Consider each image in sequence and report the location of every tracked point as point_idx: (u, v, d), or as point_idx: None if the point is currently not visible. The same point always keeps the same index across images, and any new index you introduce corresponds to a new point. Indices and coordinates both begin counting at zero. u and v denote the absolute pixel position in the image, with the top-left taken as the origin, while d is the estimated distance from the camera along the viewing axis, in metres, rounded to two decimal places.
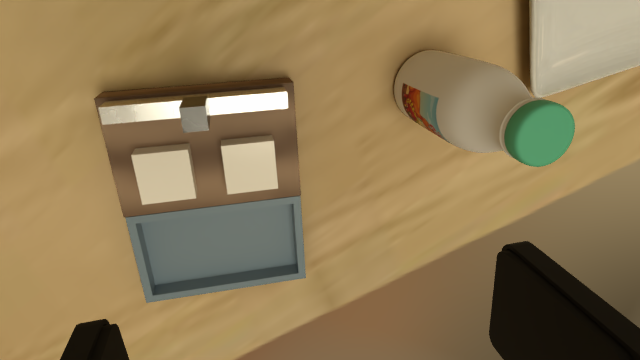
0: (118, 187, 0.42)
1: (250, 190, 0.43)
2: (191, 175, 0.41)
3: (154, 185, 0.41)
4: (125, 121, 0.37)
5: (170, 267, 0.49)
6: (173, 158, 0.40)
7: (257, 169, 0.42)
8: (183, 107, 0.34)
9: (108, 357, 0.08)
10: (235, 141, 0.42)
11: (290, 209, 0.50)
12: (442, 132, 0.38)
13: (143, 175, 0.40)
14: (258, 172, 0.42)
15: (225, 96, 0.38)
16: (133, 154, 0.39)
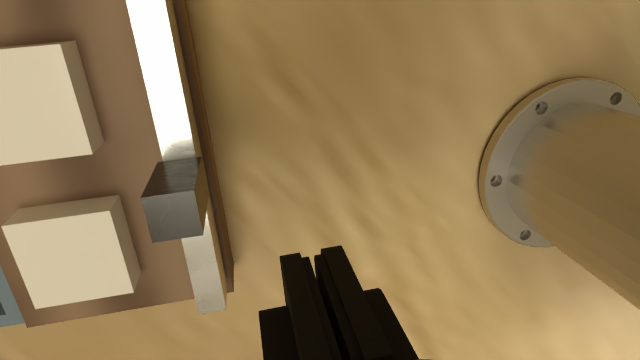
0: None
1: (19, 265, 0.22)
2: (33, 159, 0.20)
3: None
4: (139, 47, 0.18)
5: None
6: (67, 126, 0.20)
7: (71, 273, 0.22)
8: (195, 195, 0.17)
9: None
10: (121, 225, 0.23)
11: None
12: None
13: (13, 65, 0.18)
14: (64, 275, 0.22)
15: (208, 220, 0.22)
16: (62, 47, 0.19)
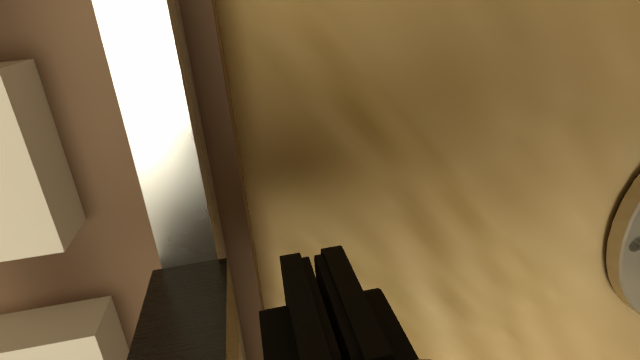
0: None
1: None
2: None
3: None
4: (117, 79, 0.10)
5: None
6: (17, 210, 0.11)
7: None
8: None
9: None
10: (114, 346, 0.15)
11: None
12: None
13: None
14: None
15: None
16: (4, 74, 0.10)
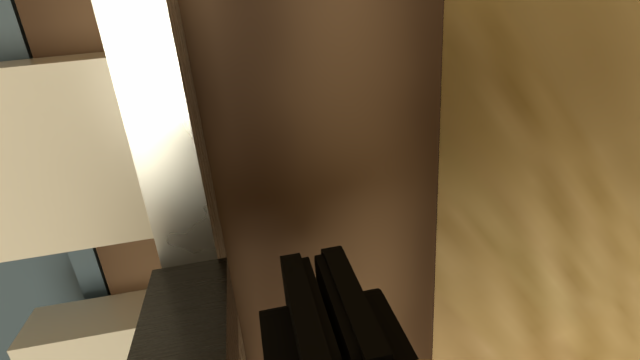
0: None
1: None
2: (62, 249, 0.12)
3: None
4: (117, 78, 0.10)
5: None
6: (120, 195, 0.12)
7: None
8: None
9: None
10: None
11: None
12: None
13: (31, 95, 0.10)
14: None
15: None
16: None
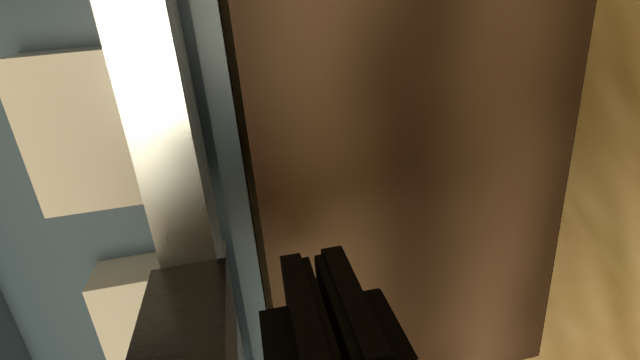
0: None
1: (102, 341, 0.16)
2: (121, 204, 0.14)
3: (71, 103, 0.13)
4: (115, 78, 0.10)
5: None
6: None
7: None
8: None
9: None
10: (230, 281, 0.17)
11: None
12: None
13: (104, 73, 0.13)
14: None
15: None
16: None
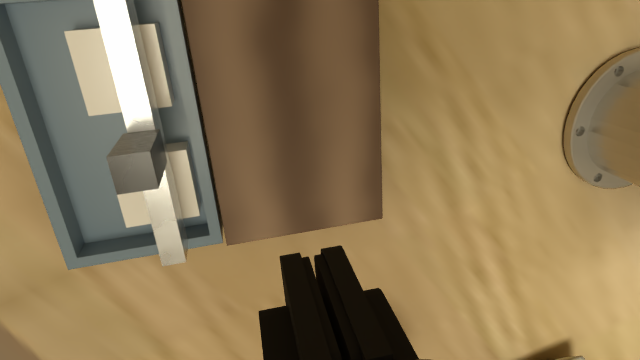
0: None
1: None
2: None
3: (104, 53, 0.26)
4: (105, 38, 0.22)
5: (53, 36, 0.27)
6: (155, 84, 0.27)
7: None
8: (151, 156, 0.21)
9: None
10: (190, 163, 0.30)
11: (187, 224, 0.33)
12: None
13: None
14: None
15: (168, 184, 0.26)
16: (155, 26, 0.26)
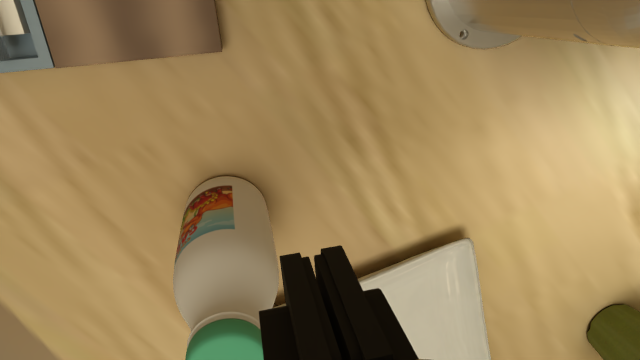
0: None
1: None
2: None
3: None
4: None
5: None
6: None
7: None
8: None
9: None
10: None
11: (24, 54, 0.33)
12: (192, 243, 0.30)
13: None
14: None
15: None
16: None
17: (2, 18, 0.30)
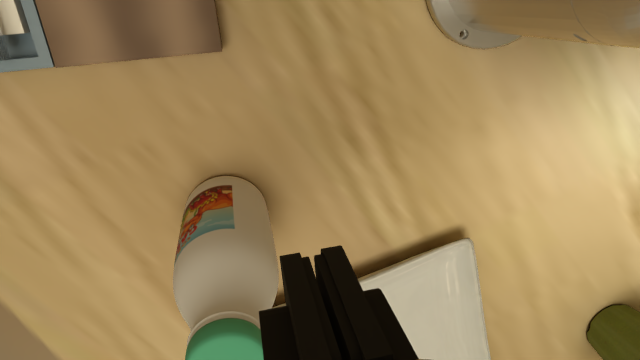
0: None
1: None
2: None
3: None
4: None
5: None
6: None
7: None
8: None
9: None
10: None
11: (24, 54, 0.33)
12: (192, 243, 0.30)
13: None
14: None
15: None
16: None
17: (2, 17, 0.30)
